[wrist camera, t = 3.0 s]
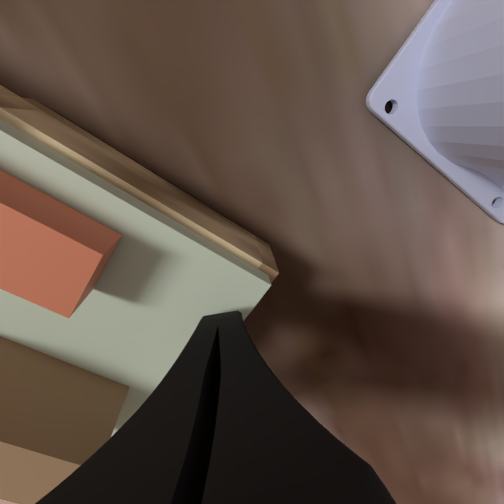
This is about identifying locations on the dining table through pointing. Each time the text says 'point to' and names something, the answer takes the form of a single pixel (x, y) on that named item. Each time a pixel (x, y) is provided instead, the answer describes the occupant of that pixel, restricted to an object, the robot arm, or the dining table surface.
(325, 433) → the robot arm
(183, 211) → the wooden box
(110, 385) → the pale green plate
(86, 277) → the salmon orange bar
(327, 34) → the dining table surface
